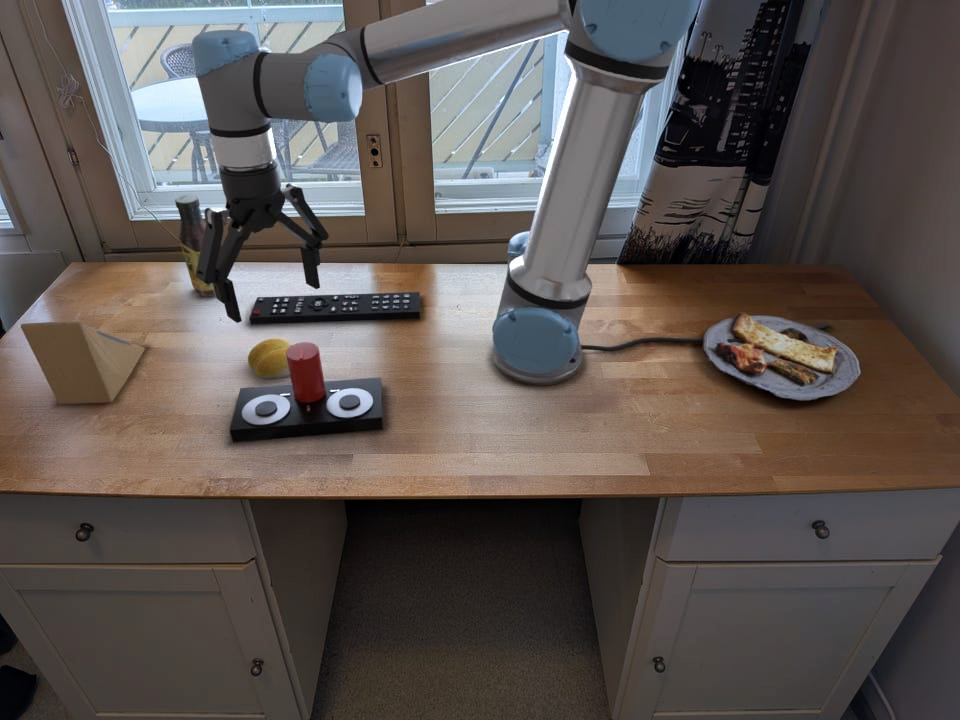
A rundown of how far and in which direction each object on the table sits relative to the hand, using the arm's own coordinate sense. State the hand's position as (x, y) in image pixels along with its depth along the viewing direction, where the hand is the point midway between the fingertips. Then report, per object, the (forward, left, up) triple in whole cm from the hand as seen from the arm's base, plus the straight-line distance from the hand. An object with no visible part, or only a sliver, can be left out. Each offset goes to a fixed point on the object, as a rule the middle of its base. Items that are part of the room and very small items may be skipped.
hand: (275, 301), depth 98 cm
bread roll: (+3, -6, -16) cm, 17 cm away
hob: (-4, +8, -16) cm, 18 cm away
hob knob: (-4, +6, -13) cm, 15 cm away
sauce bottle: (+19, -34, -16) cm, 42 cm away
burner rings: (-4, +10, -13) cm, 17 cm away
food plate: (-83, +4, -16) cm, 84 cm away
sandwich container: (+31, -7, -16) cm, 36 cm away
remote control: (-7, -22, -16) cm, 28 cm away
